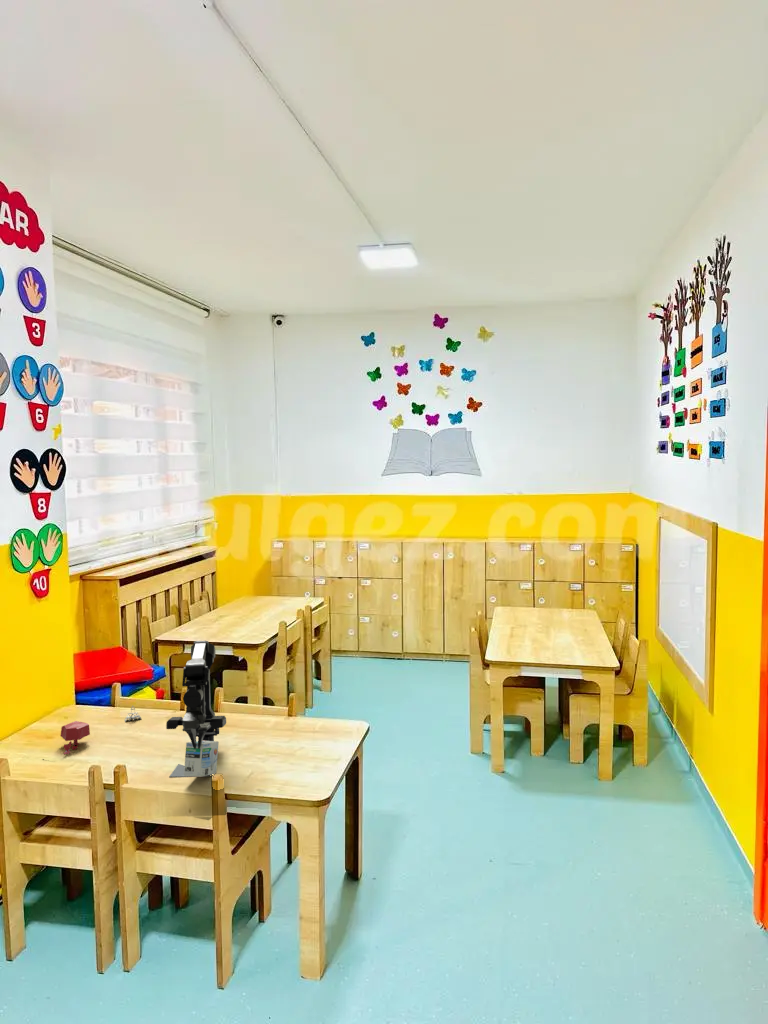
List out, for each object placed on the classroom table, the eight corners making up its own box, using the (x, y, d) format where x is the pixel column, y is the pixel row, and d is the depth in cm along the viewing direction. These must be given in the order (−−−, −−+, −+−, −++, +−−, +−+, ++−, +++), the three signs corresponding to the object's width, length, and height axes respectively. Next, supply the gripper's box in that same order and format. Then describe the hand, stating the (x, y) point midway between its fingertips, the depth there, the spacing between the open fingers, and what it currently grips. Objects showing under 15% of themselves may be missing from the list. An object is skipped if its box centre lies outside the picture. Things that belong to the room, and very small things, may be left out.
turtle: (105, 745, 284) (104, 722, 284) (63, 764, 266) (62, 740, 265) (76, 739, 290) (75, 717, 290) (33, 758, 272) (32, 734, 271)
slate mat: (178, 765, 263) (178, 763, 263) (234, 764, 263) (234, 763, 263) (169, 777, 252) (169, 776, 252) (227, 777, 252) (227, 776, 252)
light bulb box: (200, 777, 244) (203, 743, 246) (182, 776, 246) (185, 742, 248) (217, 773, 254) (219, 740, 256) (199, 772, 256) (202, 740, 258)
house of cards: (145, 717, 316) (144, 699, 316) (147, 723, 308) (146, 705, 308) (123, 720, 313) (122, 702, 312) (124, 726, 305) (123, 708, 304)
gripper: (160, 707, 238) (161, 756, 237) (218, 705, 238) (219, 754, 237) (171, 699, 249) (171, 746, 249) (226, 698, 249) (227, 745, 248)
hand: (197, 748), depth 245 cm, fingers closed
